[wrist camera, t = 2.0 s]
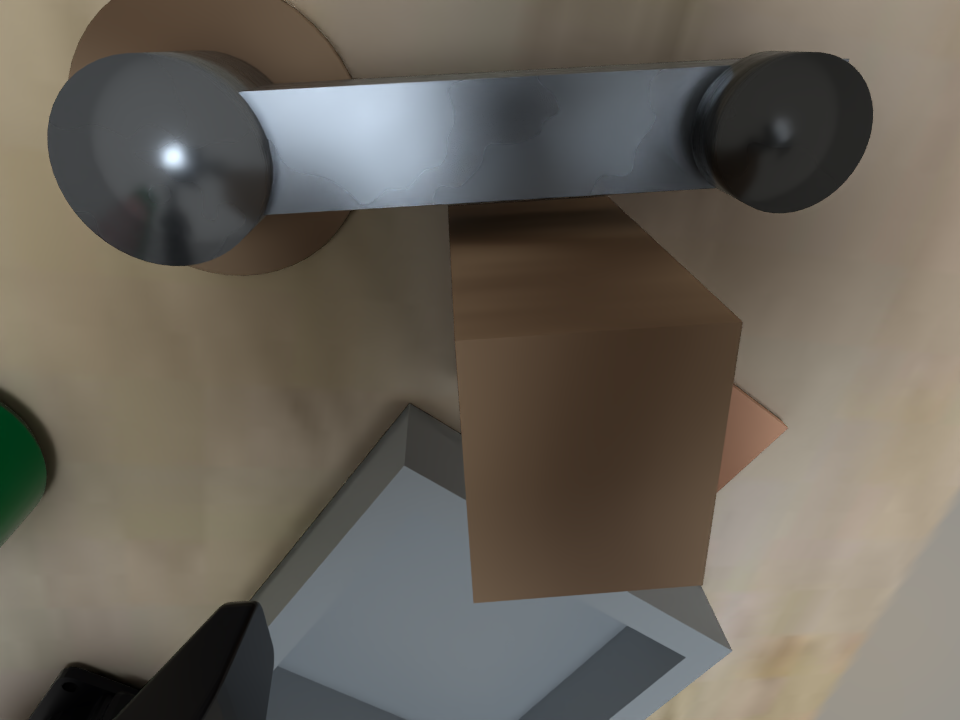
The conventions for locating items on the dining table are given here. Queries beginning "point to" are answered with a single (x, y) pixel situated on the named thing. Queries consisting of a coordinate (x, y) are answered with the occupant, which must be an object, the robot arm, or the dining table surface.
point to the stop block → (584, 400)
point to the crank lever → (436, 140)
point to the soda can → (18, 472)
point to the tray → (456, 613)
